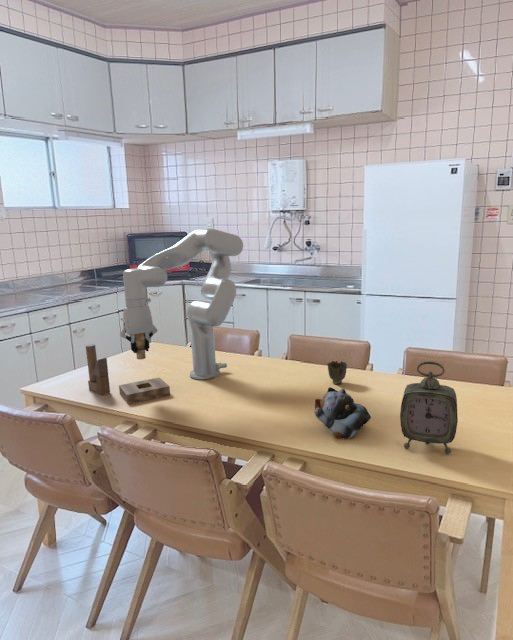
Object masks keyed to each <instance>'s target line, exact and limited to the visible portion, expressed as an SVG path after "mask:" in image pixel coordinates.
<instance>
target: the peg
mask: <svg viewBox="0 0 513 640" xmlns="http://www.w3.org/2000/svg"><path fill="white" fill-rule="evenodd" d="M134 341H135V343H136V349H137V353H135V354H136V359H137V360H145V359H146V357H147V356H146V350H145V335H144V333H139V334H135V339H134Z"/></svg>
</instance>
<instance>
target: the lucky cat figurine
mask: <svg viewBox="0 0 513 640" xmlns="http://www.w3.org/2000/svg"><path fill="white" fill-rule="evenodd" d="M313 413H314V415H315V417H316V419H317V420H319V422H321V423H322V425H324V426H325V427H326V428H327V429H328V430H329V431H330V432H331V433H332V436H333V437H334V438H336V439H340V438H342V439H343V438H344V439H343V440H348V439H351V438H352V437H353V436H355V435H356V434H357V433H358V432H359V430H361V429H362V428H363V427H364V426H365V425H366V424H367V423H368V422H369V421H370V419H371V418H372V416H371V414H370V413H369V411H368V409H367V408H366V407H365V406H364V405H362V404H360V403H355V401H354V398H352V396H351V395H350V394H348V393H347V391H346V390H345V388H340V390H336V389H335V388H334V387H331V386H330V387H328V388H327V391H326V393H325V394H324V395H323V397H322V399H321V398H316V399H314V412H313ZM342 439H341V440H342Z"/></svg>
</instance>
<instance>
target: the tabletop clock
mask: <svg viewBox="0 0 513 640" xmlns="http://www.w3.org/2000/svg"><path fill="white" fill-rule="evenodd" d="M423 365H435V366H438V367H440V368H441V370H442V371H441V372H440V373H437V374H433V371H429V372H428V373H424V372H422V371H420V367H422V366H423ZM416 371H417V372H418V374H419V375H421V376H424V378H422V380H421V381H420V382H412V383H409V384H406V387H405V389H404V391H403V395H402V400H401V405H400V413H399V414H400V415H399V417H400V419H399V420H400V429H401V433H402V435H403V437H404V438H407V439H408V441H407V442H405V443H404V444H403V447H404V449H406V450H407V449H410V448H411V447H410V446H411V445H410V443H411V442H412V441H416V442H422V443H425V444H426V445H429V444H442V445H444V447H445V449H444V453H445V454H447V455H450V454H451V453H452V449H451V448H450V447H448V444H450V443H453V440H454V439H455V437H456V433H457V428H458V421H459V420H458V398H457V393H456V391H455V389H454V388H453V387H450V386H448V385H445V384H440V381H439V380H438V379H437V378H438V377H441V376H443V375H444V373H445V371H446V370H445V368H444V366H443V365H442V364H441V363H439V362H435V361H423V362H421V363H419V364H418V366H417V367H416Z"/></svg>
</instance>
